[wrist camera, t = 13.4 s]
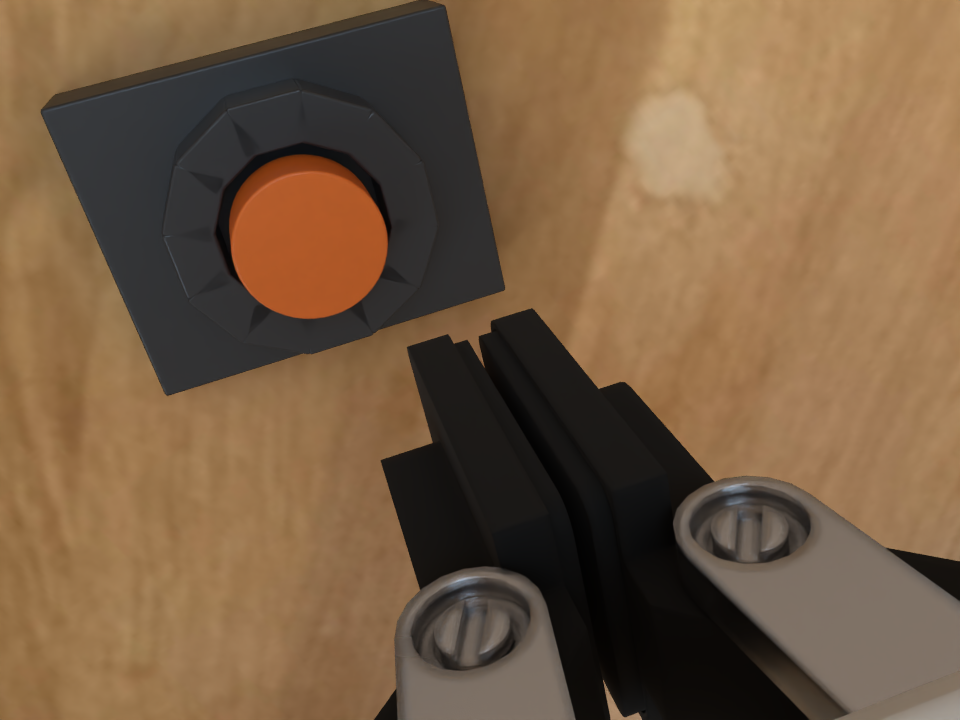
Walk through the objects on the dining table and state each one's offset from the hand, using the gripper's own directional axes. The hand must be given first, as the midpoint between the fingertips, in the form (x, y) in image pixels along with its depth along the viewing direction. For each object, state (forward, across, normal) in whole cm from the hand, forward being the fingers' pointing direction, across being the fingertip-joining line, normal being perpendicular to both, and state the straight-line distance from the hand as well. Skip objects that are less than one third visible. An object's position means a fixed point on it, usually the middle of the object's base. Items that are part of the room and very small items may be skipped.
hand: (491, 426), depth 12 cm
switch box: (+16, +2, +1) cm, 16 cm away
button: (+12, +2, +1) cm, 12 cm away
